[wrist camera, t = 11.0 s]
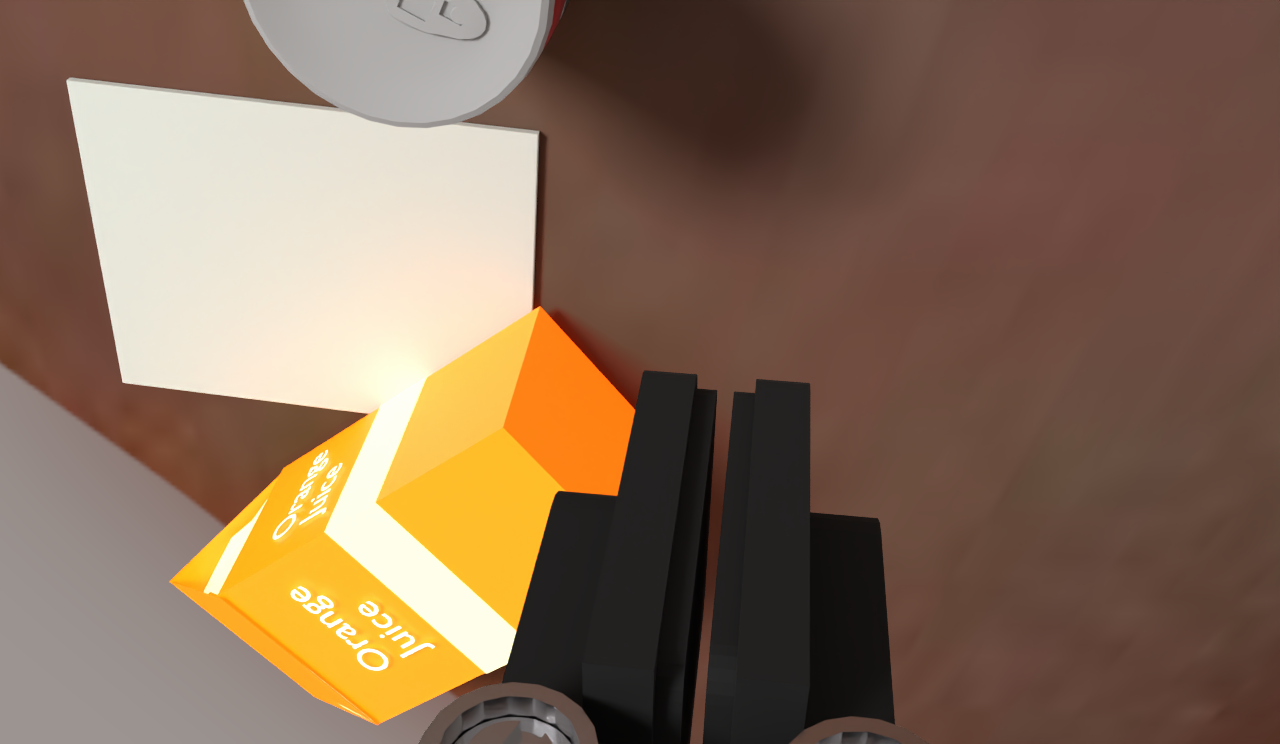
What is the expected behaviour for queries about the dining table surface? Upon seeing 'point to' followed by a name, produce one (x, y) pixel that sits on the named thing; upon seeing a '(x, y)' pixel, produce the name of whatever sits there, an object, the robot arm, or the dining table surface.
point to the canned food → (408, 52)
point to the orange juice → (417, 525)
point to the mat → (300, 242)
